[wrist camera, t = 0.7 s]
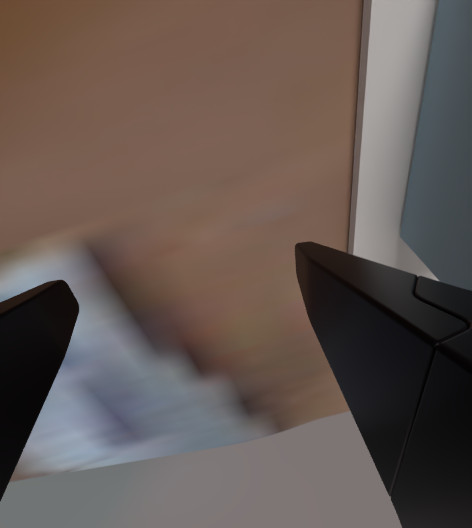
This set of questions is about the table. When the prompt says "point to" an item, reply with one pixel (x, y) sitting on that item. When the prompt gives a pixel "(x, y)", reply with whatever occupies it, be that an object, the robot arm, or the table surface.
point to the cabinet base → (388, 127)
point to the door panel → (444, 153)
